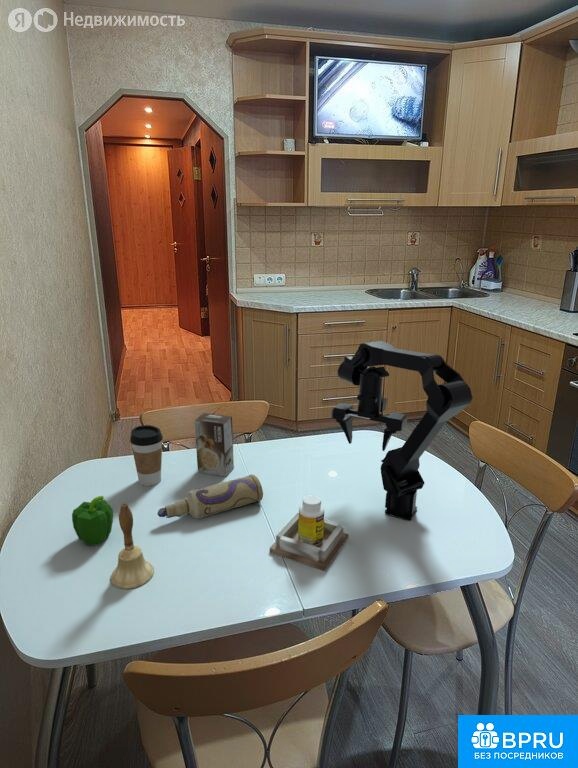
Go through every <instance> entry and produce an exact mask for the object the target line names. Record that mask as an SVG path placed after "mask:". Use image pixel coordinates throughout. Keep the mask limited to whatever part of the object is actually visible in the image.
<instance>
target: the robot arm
mask: <svg viewBox="0 0 578 768" xmlns="http://www.w3.org/2000/svg"><path fill="white" fill-rule="evenodd" d="M377 366H378V367H377ZM384 366H389V367H394V368H398V369H402V370H408V371H414V372H418V373H419V375H420V376H421V382H422V389H423V391H424V393H425V394H426V396H427V398H426V401H425V403H426V404H425V405H426V411H425V413H424V414H423V416H422V417H421V419H420V420H419V422H418V423H417V425H416V426H415V427H414V429H413V431H412V432H411V433H410V435H409V436H408V438H407V439H406V440H405V442H404V444H403V445H402V446H401V447H398V448H397V447H396V448H394V449H390V450H388V451H387V453H386V454H385V456H384V458H383V459H380V462H381V464H380V474H381V480H382V488H383V490H384V491H385V492H386V493H385V503H384V504H385V505H384V507H385V508H386V509H385V511H384V514H385V515H389V516H391V517H395V518H400V519H402V520H407V521H411V520H412V519H413V517H414V515H415V514H416V512H417V509H418V507H417V504H416V503H417V502H416V501H417V496H418V490H421V489H423V487H424V485H425V481H424V479H423V477H422V475H421V473H420V471H419V469H420V458H421V457H422V455H423V454H424V452H426V450H427V449H428V447H429V446H430V445H431V443H432V442H433V441H434V439H435V438H436V437H437V435H438V434H439V432H440V431H441V430H442V428H443V427H444V426H445V424H446V423H447V421H449V420H450V419H451V418H453V417H455V416H456V415H458V414H459V413H461V412H462V411H463V410H465V408H467V407H468V406H469V405H470V404H471V403H472V400H473V395H472V391H471V390H472V389H471V388H470V386H469V384H468V383H467V382H465V380H464V378H463V376H462V375H461V374H460V373H459V372H458V371H457V370H455V368H453V367H451V366H450V365H449V364H447V362H446V360H445V359H444V358H443V356H441V354H438V353H426V352H421V351H415V350H407V349H400V348H396V347H394V346H393V345H392V344H391V343H388V342H386V341H384V340H377V341H371V342H362V343H360V344H359V346H358V348H357V350H356V352H355V354H354V355H353V356H352V355H348V356H347V355H346V356H344V360H343V361H342V362H341V363H340V364H339V367H338V369H337V376H338V378H339V379H340V380H341V381H344V382H346V383H349V384H352V385H354V386H359V387H358V395H357V396H356V399H357V401H358V402H357V409H354V406H353V404H350V403H344V402H340V403H338V404H337V405H336V406H334V407H333V408H332V410H331V419H333V420H334V419H335V422H336V423H338V424H339V426H340V427H341V429H342V431H343V432H344V436H345V437H346V440H347V442H348V444H349V445H351V444H352V443H353V420H354V418H357V419H362V420H368V421H373V422H378V423H384V424H385V428H384V430H383V437H382V445H381V447H382V449H381V450H382V452H385V451H386V448H387V446H388V444H389V441H390V439H391V438H392V435H393V434H397V433H398V432H402V431H403V429H404V428H405V427H406V426H407V424H408V417H407V414H405V413H401V412H400V413H399V412H396V411H391V413H390V414H389V415H386V414H381V413H384V411H385V410H386V409H387V404H388V398H385V397H384V393H383V381H384V380H383V379H384V378H387V377H390V373H389V372H388V371H387V370H386V368H385V367H384ZM435 374H436V375H437V376H438V377H439V379H442V380H443V381H444V382H445V383H440V384H438V383H437V381H436V380H435Z"/></svg>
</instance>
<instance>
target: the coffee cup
mask: <svg viewBox="0 0 578 768" xmlns="http://www.w3.org/2000/svg"><path fill="white" fill-rule="evenodd" d="M161 431H162V430H161V429H160V428H159V427H157V426H154V425H150V424H144V425H138V426H136V427H134V428H132V429H131V432H130V438H129V439H130V440H129V441H130V443H131V444H132V453H133V460H134V464H135V469H136V474H137V479H138V483H139V485H141V486H143V485H144V487H151V485H152V486H156V485H157V484H159V483H160V482H161V481H162V463H163V462H162V458H163V457H162V456H163V445H162V441H163V439H164V436H163V433H162V432H161Z"/></svg>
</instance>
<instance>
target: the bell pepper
mask: <svg viewBox="0 0 578 768" xmlns="http://www.w3.org/2000/svg"><path fill="white" fill-rule="evenodd" d="M71 520H72V527H73V529H74V531H75V534H76V536H77V538H78V539H79V540H80V541H81V542H83V543H85V544H86V545H87V546H96V545H101V543H103V542H104V541H105V539H106V538H108V537H109V536H110V534H111V532H112V528H113V523H114V511H113V508H112V506H111V505H110V504H109V503H108V501H106V499H104V496H103V495H99V496H96V497H94V498H93V499H92V500H91V501H83V502H81V504H80V505H78V506H77V507H76V508H74V509H73V511H72V513H71Z"/></svg>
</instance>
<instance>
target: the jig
mask: <svg viewBox="0 0 578 768" xmlns="http://www.w3.org/2000/svg"><path fill="white" fill-rule="evenodd" d="M298 523H299V512H297V513H296V514H295V515H294V516H293V517H292V518H291V519H290V521H289V522H287V524H286V525H285V526H284V527H283V528H282V529H281V530H280V531H279V532H278V533H277V534H276V535H275V538H276V539H275V541H274V543H273V544H271V546H270V547H269V553H272V554H275V555H278V556H281V557H284V558H286V559H289V560H291V561H295V562H297V563H300V564H304V565H307V566H310V567H313V568H315V569H317V570H322V571H323V572H325V571H326V570H327V569H328V568H329V566H330V565H331V564H332V562H333V560H334V558H335V557H336V556H337V554H338V553H339V552H340V550H342V547H343V546H344V545H345V543H346V542H347V541H348V539H349V533H347V532H344V526H343V525H341V524H340V523H339V522H336V521H332V520H329V519H326V518H324V532H323V541H322V543H321V544H320V545H318V546H312V545H309V544H306V543H303V542H300V541H299V540H298Z"/></svg>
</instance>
